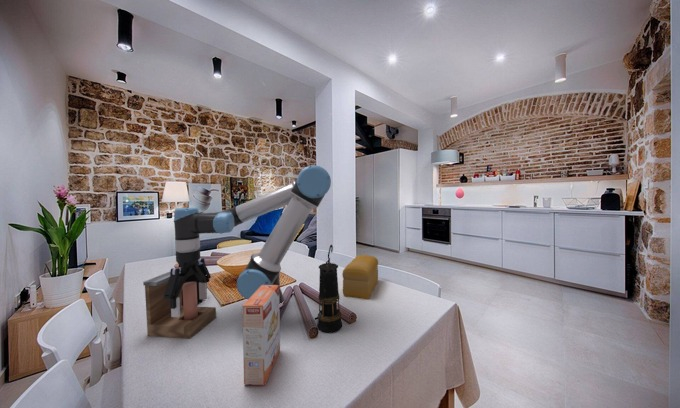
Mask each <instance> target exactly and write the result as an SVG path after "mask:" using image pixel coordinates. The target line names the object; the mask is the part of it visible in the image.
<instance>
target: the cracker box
mask: <svg viewBox="0 0 680 408" xmlns="http://www.w3.org/2000/svg"><path fill="white" fill-rule="evenodd" d="M241 310H242V345H243V346H242V350H243V351H242V352H243V354H242V355H243V385H244V384H252V385H251V386H266V384H267V381H268V379H269V376H270V375H271V372H272V370H273V368H274V365H275V363H276V362H277V359H278V356H279V354H280V351H281V330H280V329H281V324H280V323H281V321H280V317H281V315H280V310H281V309H279V285H261V286H260V287H259V289H258V290H257V291H256V292H255V293H254V294H253V295H252V296H251V297H250V298H249V299H246V301H245V302H244V303H242V309H241Z"/></svg>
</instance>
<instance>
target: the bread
mask: <svg viewBox="0 0 680 408" xmlns="http://www.w3.org/2000/svg"><path fill="white" fill-rule="evenodd" d="M341 274H342V275H341V276H342V279H343V280H342V292H343V293H342V294H343V297H346V298H354V299H360V300H369V299H371V296H372V294H373V293H374V290H375V288H376V286H377V285H378V281H379V260H378V258H377V257H375V256H374V255H373V256H372V255H368V254H359V255H357V256H355V257H354V258H353V259H352V261H350V262H349V263H348V264H347V265H346V266H345V268H344V269H343V270H342V273H341Z"/></svg>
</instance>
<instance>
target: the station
mask: <svg viewBox="0 0 680 408" xmlns="http://www.w3.org/2000/svg"><path fill="white" fill-rule="evenodd" d="M169 278H170V271H167V272H165V273H162V274H159V275H157V276H155V277H153V278H150V279H147V280H145V281H143V282H142V283H143V286H144V293H145V296H144V297H145V311H146V312H145V313H146V331H147V336H148V337H160V338H177V339H191V338H193V337H194V336H195V335H196V334H197V333H199V332H200V331H202V329H204V328H205V327H206V326H207V325H208V324H210V323H211V322H212V321H213V320H214V319H216V318H217V310H216V308H217V307H215V306H198V317H196V318H195V319H194V320H184V309H183V306H182V290H180V293H179V295H178V297H179V298H180V317H171V309H170V301H169V300H168V299H163V297H164V294H165V291H166V288H167V284H168V281H169ZM174 295H175V294H174Z"/></svg>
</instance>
